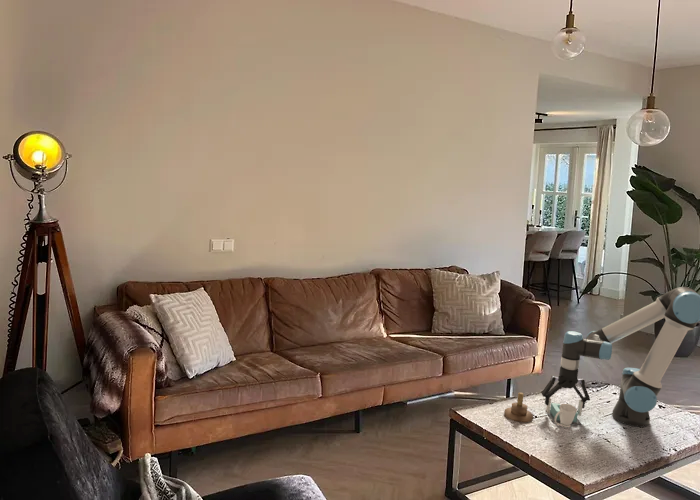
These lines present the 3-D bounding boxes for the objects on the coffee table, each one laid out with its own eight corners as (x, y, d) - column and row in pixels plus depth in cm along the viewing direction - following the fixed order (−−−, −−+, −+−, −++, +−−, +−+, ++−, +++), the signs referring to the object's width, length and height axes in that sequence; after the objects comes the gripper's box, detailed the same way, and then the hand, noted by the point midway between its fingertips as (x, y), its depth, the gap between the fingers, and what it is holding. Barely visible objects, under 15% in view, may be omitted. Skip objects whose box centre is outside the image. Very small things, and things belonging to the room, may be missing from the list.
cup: (577, 427, 249) (580, 410, 247) (559, 431, 245) (562, 415, 243) (565, 418, 255) (568, 402, 253) (547, 422, 251) (550, 406, 249)
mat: (572, 413, 264) (572, 412, 264) (581, 424, 252) (581, 423, 252) (545, 410, 265) (545, 409, 264) (552, 422, 253) (552, 421, 253)
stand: (529, 411, 262) (531, 389, 260) (535, 423, 250) (538, 400, 249) (501, 409, 263) (504, 387, 261) (507, 421, 251) (509, 397, 249)
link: (576, 421, 254) (577, 413, 253) (555, 420, 254) (556, 411, 253) (570, 413, 262) (571, 404, 262) (549, 411, 263) (551, 402, 262)
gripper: (595, 366, 258) (589, 412, 261) (538, 361, 259) (532, 407, 262) (601, 372, 250) (595, 419, 253) (542, 367, 252) (536, 414, 255)
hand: (563, 413), depth 258 cm, fingers open, 13 cm apart
